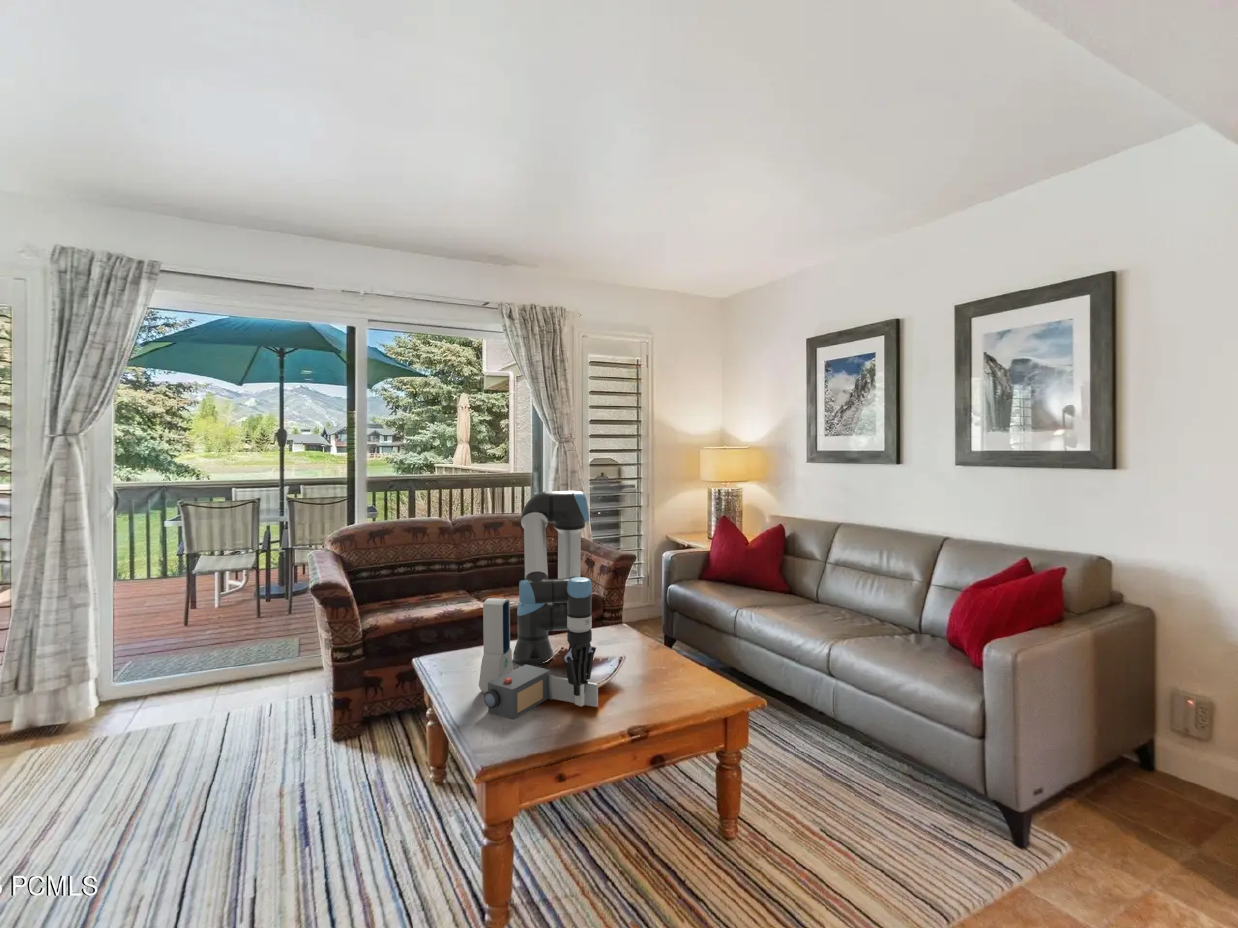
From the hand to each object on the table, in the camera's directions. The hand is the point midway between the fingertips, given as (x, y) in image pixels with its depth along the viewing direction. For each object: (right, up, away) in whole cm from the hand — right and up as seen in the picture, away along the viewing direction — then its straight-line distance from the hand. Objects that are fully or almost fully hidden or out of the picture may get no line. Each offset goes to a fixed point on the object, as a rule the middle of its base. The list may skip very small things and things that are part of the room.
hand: (579, 704), depth 188 cm
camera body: (-19, -1, +4) cm, 19 cm away
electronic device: (-29, -1, +17) cm, 34 cm away
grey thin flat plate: (-2, -1, +5) cm, 6 cm away
